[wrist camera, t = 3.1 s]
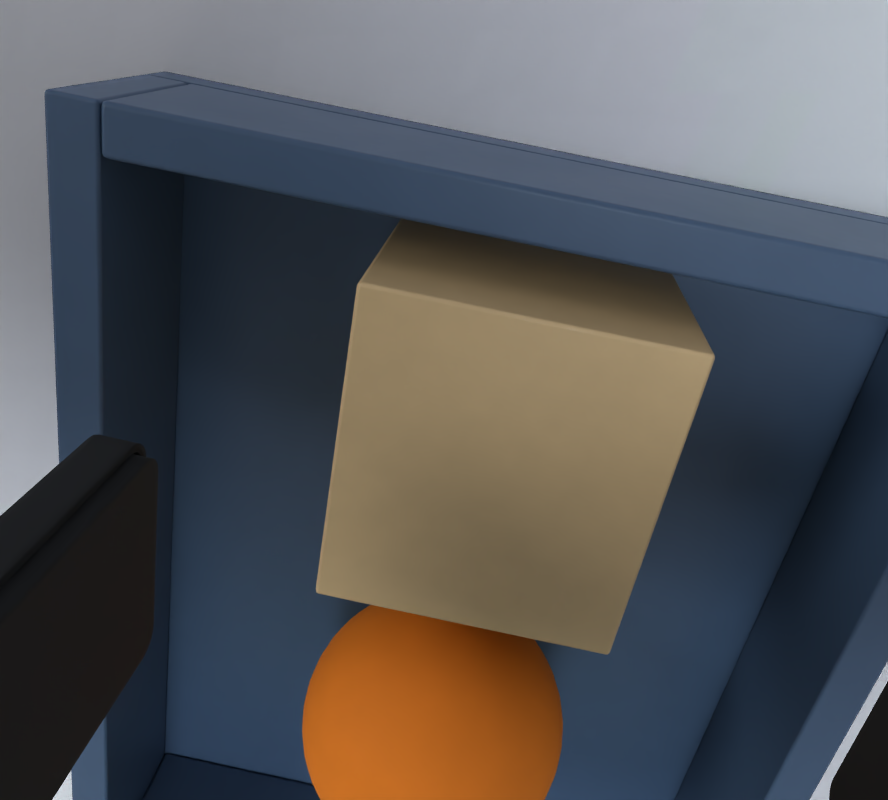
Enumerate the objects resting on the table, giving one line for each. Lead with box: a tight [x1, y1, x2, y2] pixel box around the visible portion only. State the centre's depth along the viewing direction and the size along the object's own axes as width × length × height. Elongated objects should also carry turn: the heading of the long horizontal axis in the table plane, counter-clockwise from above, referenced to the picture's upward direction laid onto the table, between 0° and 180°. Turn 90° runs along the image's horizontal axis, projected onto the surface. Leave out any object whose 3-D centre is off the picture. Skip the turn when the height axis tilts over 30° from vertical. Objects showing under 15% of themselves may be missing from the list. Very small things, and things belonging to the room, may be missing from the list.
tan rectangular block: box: [316, 219, 715, 655], centre depth 14 cm, size 6×5×4 cm
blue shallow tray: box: [45, 72, 888, 800], centre depth 17 cm, size 18×15×4 cm
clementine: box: [302, 605, 563, 800], centre depth 16 cm, size 5×5×5 cm
